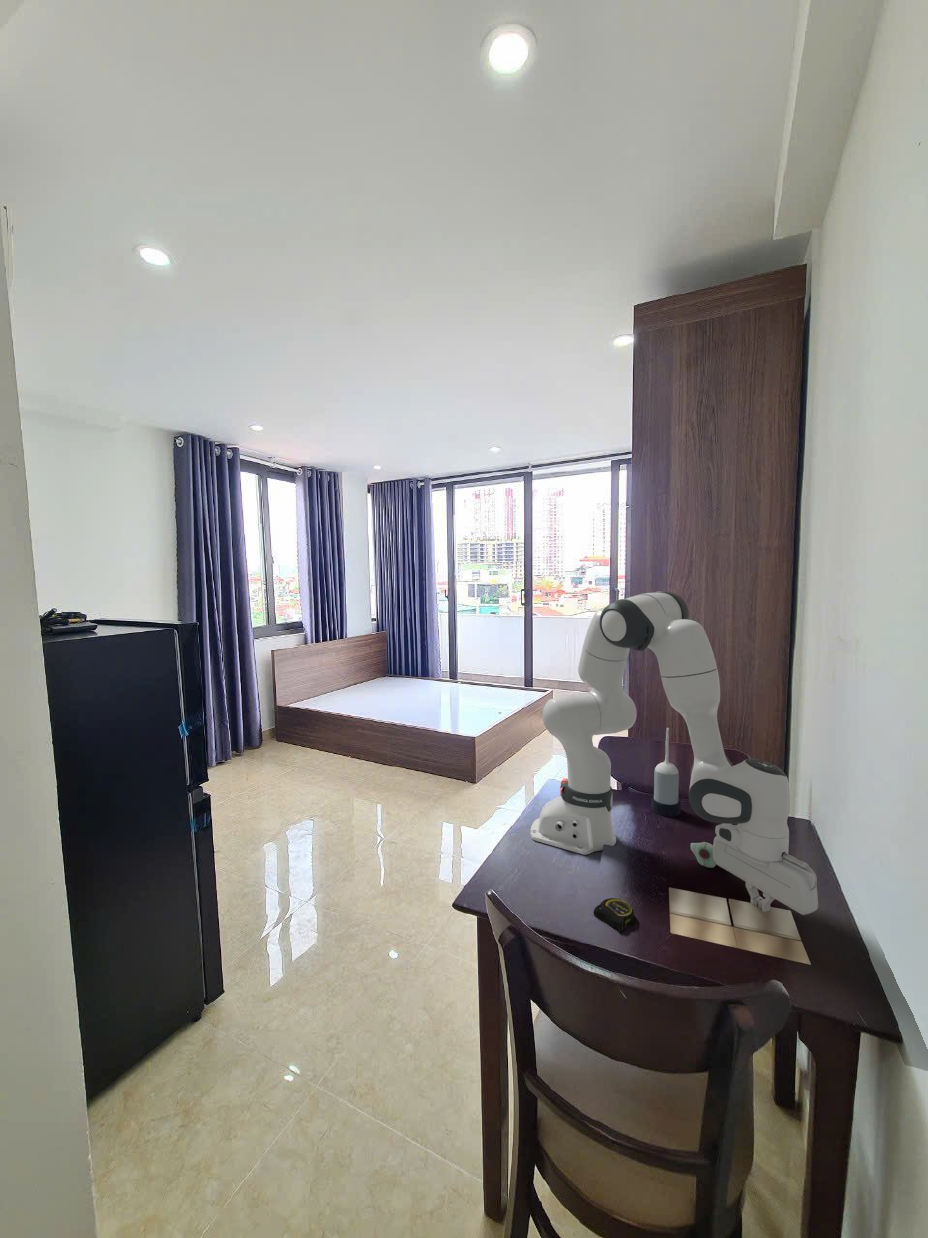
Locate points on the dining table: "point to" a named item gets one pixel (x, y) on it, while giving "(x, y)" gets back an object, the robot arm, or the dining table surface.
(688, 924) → the laid strip
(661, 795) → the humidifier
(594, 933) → the dining table surface
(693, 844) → the pale green lumpy piece
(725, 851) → the robot arm
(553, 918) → the dining table surface
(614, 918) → the tape measure
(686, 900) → the plank
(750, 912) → the plank
